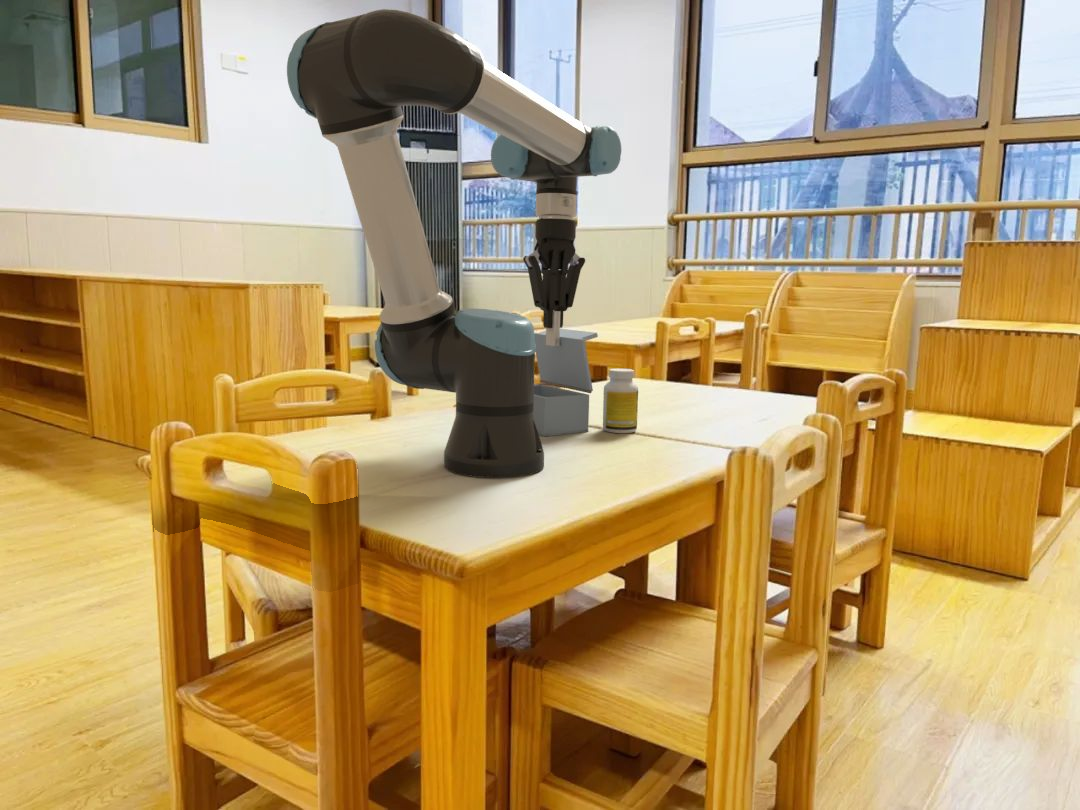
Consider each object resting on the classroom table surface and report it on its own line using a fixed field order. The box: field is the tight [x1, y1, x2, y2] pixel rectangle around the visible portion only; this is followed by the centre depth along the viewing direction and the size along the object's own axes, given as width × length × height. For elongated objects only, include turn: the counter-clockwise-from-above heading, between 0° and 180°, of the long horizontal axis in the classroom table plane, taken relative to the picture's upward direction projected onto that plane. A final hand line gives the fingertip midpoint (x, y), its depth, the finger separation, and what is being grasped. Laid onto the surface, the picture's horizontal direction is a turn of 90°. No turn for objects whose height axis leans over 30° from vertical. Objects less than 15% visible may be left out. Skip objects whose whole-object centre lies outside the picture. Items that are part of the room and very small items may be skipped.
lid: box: [534, 328, 599, 394], centre depth 157 cm, size 10×17×5 cm
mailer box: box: [533, 383, 590, 438], centre depth 155 cm, size 10×16×7 cm, turn 34°
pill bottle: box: [602, 368, 639, 434], centre depth 152 cm, size 6×6×12 cm
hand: (552, 345), depth 154 cm, fingers closed
